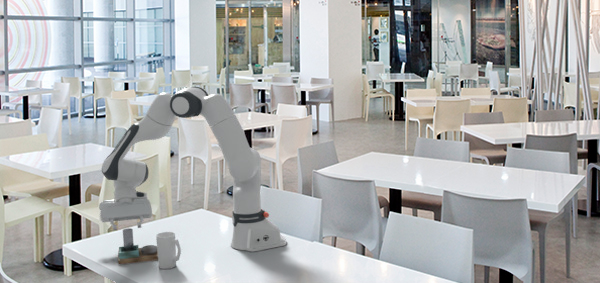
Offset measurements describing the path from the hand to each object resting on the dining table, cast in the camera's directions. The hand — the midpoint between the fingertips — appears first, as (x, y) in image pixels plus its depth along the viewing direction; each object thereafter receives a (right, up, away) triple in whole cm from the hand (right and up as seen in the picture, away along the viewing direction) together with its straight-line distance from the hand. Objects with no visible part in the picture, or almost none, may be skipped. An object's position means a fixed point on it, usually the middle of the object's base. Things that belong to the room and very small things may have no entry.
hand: (127, 228), depth 228 cm
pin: (+4, -9, -10) cm, 14 cm away
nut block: (+7, -10, -8) cm, 14 cm away
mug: (+22, -11, -19) cm, 31 cm away
